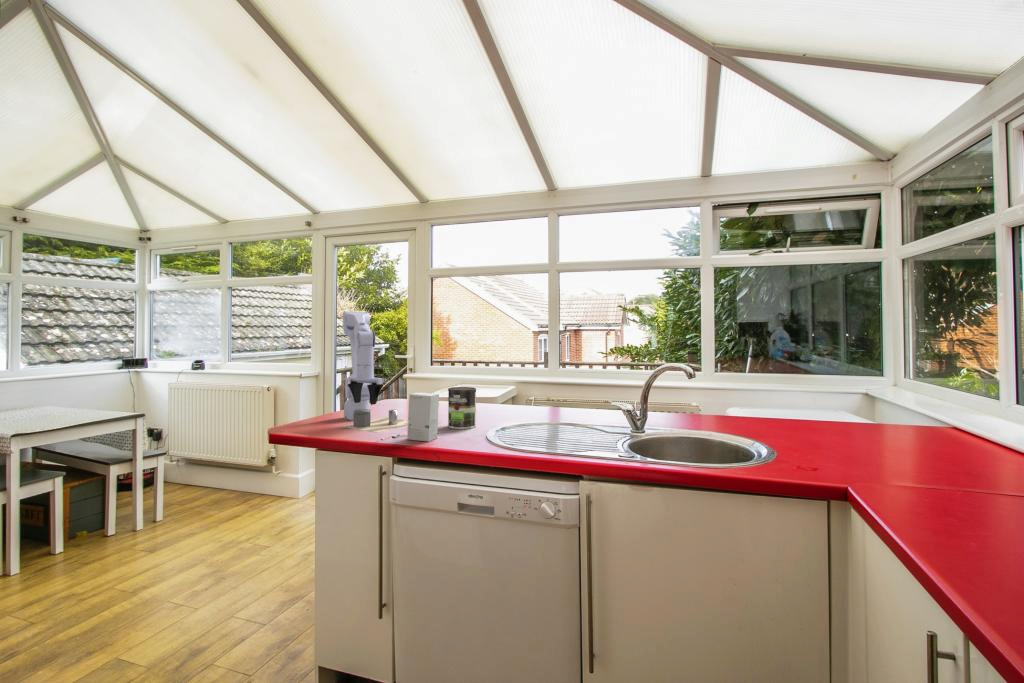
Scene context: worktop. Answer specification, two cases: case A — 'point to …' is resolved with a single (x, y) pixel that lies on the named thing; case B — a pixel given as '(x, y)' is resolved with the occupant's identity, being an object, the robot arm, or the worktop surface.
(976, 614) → the worktop surface
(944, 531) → the worktop surface
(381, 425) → the beige cloth
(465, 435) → the worktop surface
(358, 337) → the robot arm
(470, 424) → the coffee can
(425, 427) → the skincare box
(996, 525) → the worktop surface
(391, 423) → the post
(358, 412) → the cap
